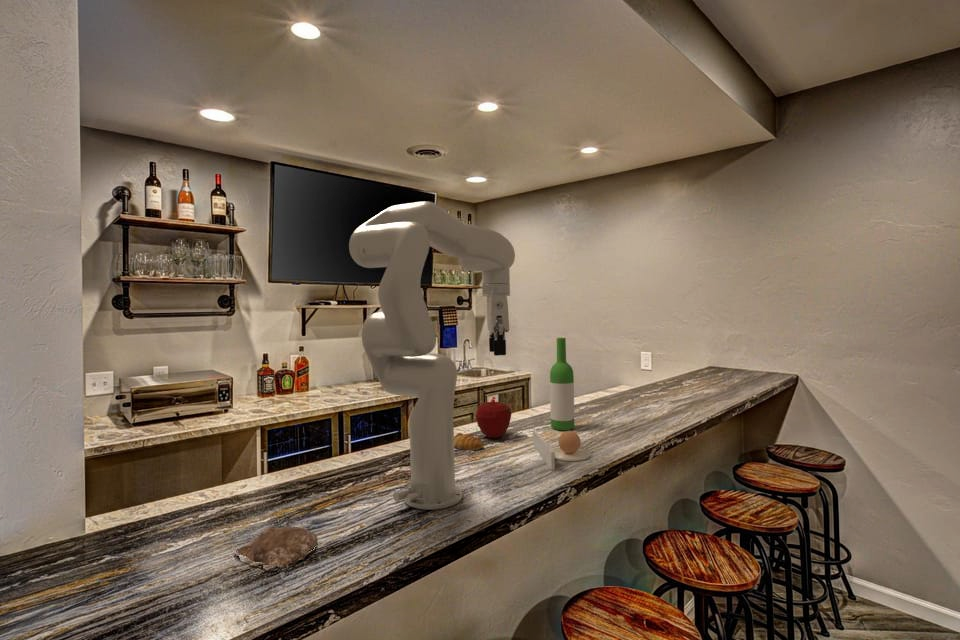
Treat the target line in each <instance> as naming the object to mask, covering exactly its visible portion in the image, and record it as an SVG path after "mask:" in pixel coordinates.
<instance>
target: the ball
mask: <svg viewBox="0 0 960 640" xmlns="http://www.w3.org/2000/svg"><path fill="white" fill-rule="evenodd" d="M581 442H582V441H581V438H580V436H579V434H578V433H576V432H575V431H572V430H566V431H563V432H562V433H561V434H560V435H559V437H558V447H559V448H561V450H563V451H564V452H566V453H574V452H576V451H577V450H578V449H579V448H580V447H581V444H582V443H581Z"/></svg>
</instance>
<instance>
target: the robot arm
mask: <svg viewBox="0 0 960 640" xmlns="http://www.w3.org/2000/svg"><path fill="white" fill-rule="evenodd" d="M430 248H433V249H434V250H436V251H438V252H439V253H442V254H443V255H445V256H447V257H452V258H458V260H459V263H460V265H461V266H462V268H463V269H465V270H466V271H469V272H481V282H482V284H481V285H482V286H481V288H482V289H481V290H482V291H481V294H482V297H486V323H487V330H488V331H489V337H488V346H489V347H488V350H489V352H491V353H493V355H494V356H506V355H507V340H506V333H509V332H510V319H509V303H508V297H510V296H511V287H510V286H511V285H510V284H511V283H510V277H511V276H510V273H511V272H510V268H511V267H512V266H513V264H514V263H515V261H516V253H515V249H514V246H513V244H512V243H511V242H510V240H509V239H508V238H506V237H505V236H504V235H503V234H501V233H500V232H498V231H495V230H493V229H491V228H485V227H481V226H478V225H474V224H470V223H466V222H464V221H463V222H462V221H461V220H460V219H459V218H457V217H455V216H454V215H453V214H452V213H450V212H448V211H447V210H445V209H444V208H443V207H441V206H440V205H439V204H436V203H435V202H432V201H429V200H427V201H425V200H424V201H415V202H407V203H401V204H395V205H391V206H389V207H387V208H386V209H384V210H382V211H380V212H379V213H378V214H376V215H375V216H373V217H371V218H370V219H368V220H367V221H365V222H364V223H362V224H361V225H359V226H358V227H357V228H356V229H355V230H354V231H353V233H352V234H351V236H350V238H349V242H348V249H349V254H350V256H351V257H350V258H352V260H353V261H354V262H355V263H356V264H357V265H358V266H361V267H362V268H367V269H374V268H375V269H377V268H385V271H384V273H383V276H382V279H381V280H380V283H379V286H378V290H377V298H378V299H377V300H378V302H379V306H380V308H381V311H376V312H373V313H371V314H369V316H367V317H366V319H365V320H364V322H363V324H362V328H361V341H362V346H363V348H364V352H365V354H366V356H367V358H368V360H369V363H370V366H371V368H372V369H373V371H374V374H375V375H376V378H377V380H378V382H379V385H381V387H382V389H383V390H384V391H385V392H387V393H389V394H390V395H394V396H405V397H413V398H418V399H417V401H416V404H415V405H414V407H413V409H412V411H411V412H410V415H409V423H408V424H409V428H408V429H409V449H410V450H409V453H410V454H409V455H410V456H409V457H410V458H409V459H410V480H407V481H406V483H407V485H406V486H405V487H404V489H400V490H398V491H395V492H393V493H392V498H393V500H394V502H396V503H397V502H401V501H404V503H405V504H406V505H408V506H409V507H411V508H414V509H416V510H417V509H419V510H425V511H426V510H430V511H431V510H432V511H433V510H439V509H440V510H442V509H446V508H449V507H452V506H455V505H457V504H458V503H459V502H461V501H462V499H463V490H462V488H461V487H459V486H458V485H456V472H455V471H456V470H455V467H456V466H455V465H456V464H455V463H456V462H455V448H454V436H455V433H454V432H455V431H454V424H455V423H454V422H455V421H454V405H455V404H454V403H455V392H456V388H457V387H456V386H457V381H458V369H457V365H456V364H455V362H454V361H453V360H452V359H451V358H450V357H449V356H446V355H444V354H440V353H432V352H433V351H434V349H435V347H436V344H437V334H436V333H437V332H436V330H435V326H434V325H433V321H432V318H431V316H430V313H429V309H428V308H427V304H426V302H425V299H424V296H423V293H422V290H421V289H422V288H421V287H422V286H421V282H422V281H421V279H422V273H423V269H424V268H425V267H424V266H425V263H426V260H427V257H428V254H429V252H430V251H429V250H430Z"/></svg>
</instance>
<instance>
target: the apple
mask: <svg viewBox="0 0 960 640" xmlns="http://www.w3.org/2000/svg"><path fill="white" fill-rule="evenodd" d="M511 418H512V411H511V408H510V407H509V406H508V405H507V404H506V403H504V402H500V401H494V400H492V401H486V402H482V403H481V404H480V405H479V406H478V408H477V409H476V414H475V419H476V423H477V425H478V429H480V431H481V433H482V434H483V435H485V436H486V437H487V438H490V439H498V438H501V437H503V436H504V435H505V434H506V433H507V431H508V428H509V426H510V423H511Z"/></svg>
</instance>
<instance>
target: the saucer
mask: <svg viewBox="0 0 960 640" xmlns="http://www.w3.org/2000/svg"><path fill="white" fill-rule="evenodd" d="M551 449H552V450H553V451H554V458H555V460H557V461H560V462H571V463H572V462H584V461H586V459H587V460H588V458H589V457H591V452H590V451H588V449H587V450H586V449H584V448H579V449H578V450H577V451H576V452H574V453H566V452H564V451H563V450H561V448H560V447H556V448H551ZM589 459H590V458H589Z"/></svg>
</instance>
